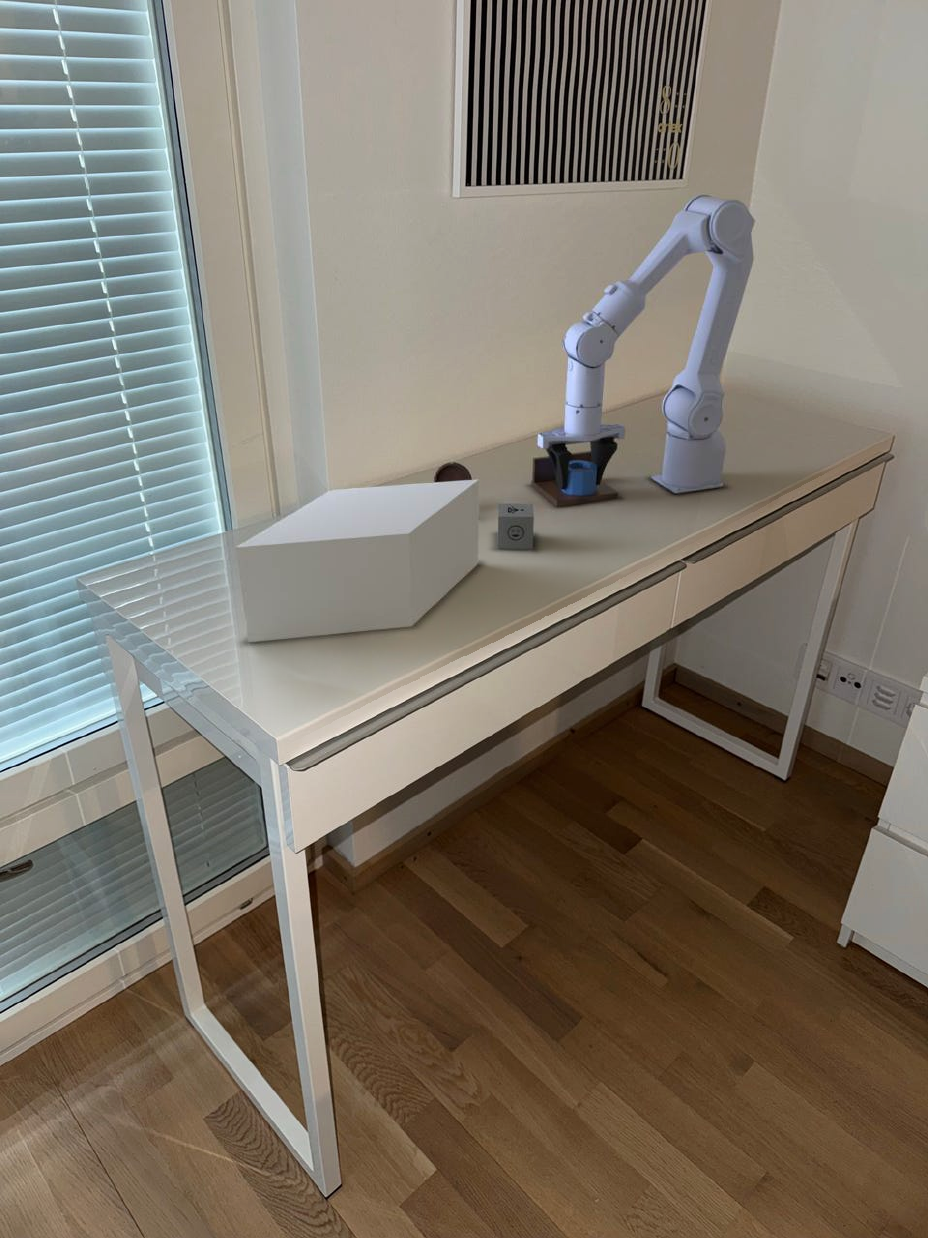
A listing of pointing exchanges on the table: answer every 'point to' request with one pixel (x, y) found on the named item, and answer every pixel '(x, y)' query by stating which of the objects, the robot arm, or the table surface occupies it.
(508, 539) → the dice cube
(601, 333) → the robot arm
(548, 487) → the holder
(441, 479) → the compass
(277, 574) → the block
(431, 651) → the table surface
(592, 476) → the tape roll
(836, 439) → the table surface
